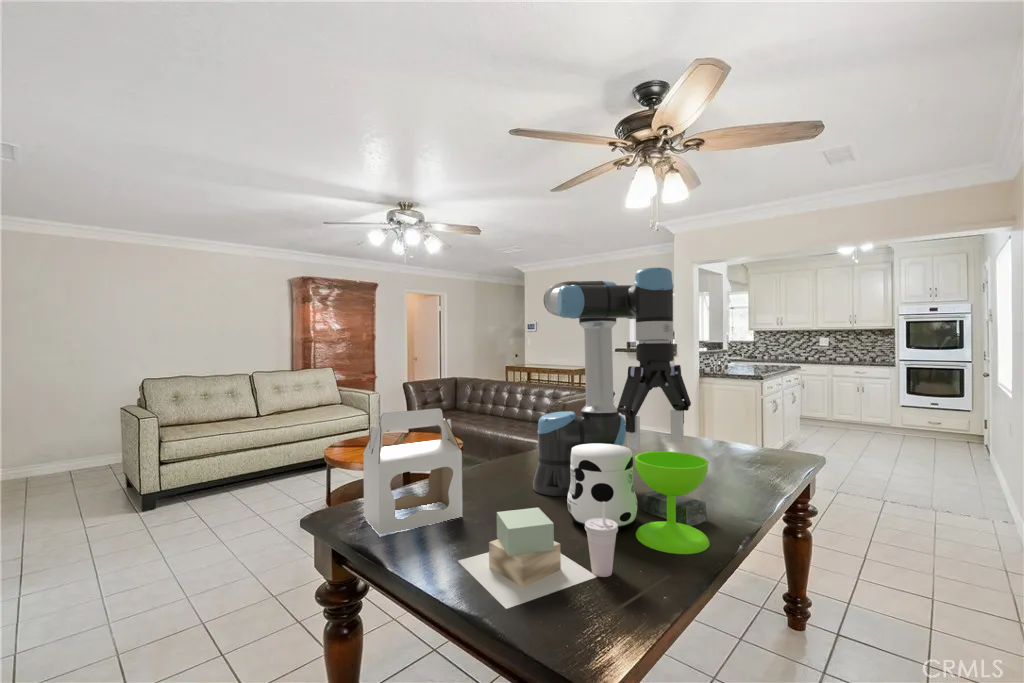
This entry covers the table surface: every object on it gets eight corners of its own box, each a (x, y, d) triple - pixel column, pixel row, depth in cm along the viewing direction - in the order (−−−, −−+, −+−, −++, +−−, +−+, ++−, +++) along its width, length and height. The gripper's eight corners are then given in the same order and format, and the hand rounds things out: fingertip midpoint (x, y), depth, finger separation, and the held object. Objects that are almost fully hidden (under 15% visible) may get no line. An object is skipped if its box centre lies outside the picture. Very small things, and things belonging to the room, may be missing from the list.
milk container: (650, 520, 114) (649, 449, 114) (612, 542, 102) (611, 462, 102) (593, 504, 126) (593, 439, 127) (553, 521, 114) (552, 450, 114)
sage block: (496, 536, 92) (496, 512, 93) (538, 531, 95) (538, 507, 95) (508, 556, 84) (508, 529, 84) (553, 549, 86) (553, 523, 86)
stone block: (665, 505, 126) (665, 486, 126) (710, 522, 113) (710, 501, 114) (642, 511, 121) (641, 491, 122) (686, 529, 109) (686, 507, 109)
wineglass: (649, 519, 115) (648, 448, 115) (717, 534, 105) (715, 457, 105) (624, 541, 102) (623, 461, 102) (699, 561, 92) (697, 472, 93)
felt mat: (457, 562, 93) (457, 560, 93) (538, 540, 103) (538, 538, 103) (506, 611, 76) (506, 608, 76) (597, 578, 86) (597, 576, 86)
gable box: (442, 503, 129) (441, 404, 129) (463, 517, 117) (462, 409, 118) (362, 520, 116) (362, 411, 117) (378, 538, 105) (377, 418, 106)
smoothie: (612, 585, 83) (611, 509, 83) (579, 576, 87) (579, 503, 87) (623, 570, 89) (622, 499, 89) (592, 563, 92) (591, 494, 92)
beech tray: (489, 567, 90) (488, 542, 90) (526, 552, 96) (526, 528, 96) (522, 587, 82) (522, 559, 82) (560, 569, 89) (560, 543, 89)
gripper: (626, 342, 85) (628, 455, 84) (706, 342, 98) (708, 440, 98) (598, 342, 91) (599, 448, 91) (677, 342, 105) (679, 434, 104)
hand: (656, 444), depth 94 cm, fingers open, 13 cm apart
